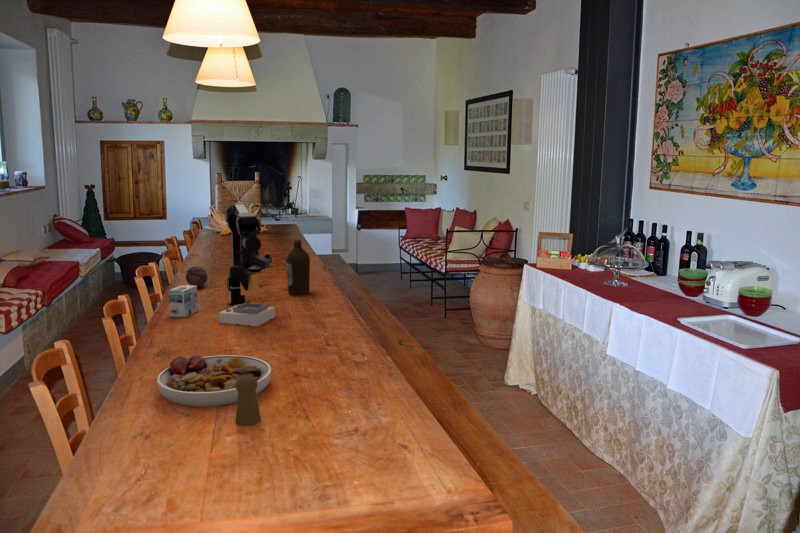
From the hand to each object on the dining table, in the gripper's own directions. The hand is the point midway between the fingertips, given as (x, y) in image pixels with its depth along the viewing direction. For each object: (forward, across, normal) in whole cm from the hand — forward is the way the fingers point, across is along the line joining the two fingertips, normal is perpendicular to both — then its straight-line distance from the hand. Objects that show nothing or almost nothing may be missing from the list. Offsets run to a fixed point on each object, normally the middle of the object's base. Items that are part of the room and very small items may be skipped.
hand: (249, 288), depth 244 cm
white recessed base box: (+12, 0, +1) cm, 12 cm away
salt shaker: (+12, -82, -46) cm, 95 cm away
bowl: (+13, -66, -26) cm, 72 cm away
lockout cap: (+2, 0, 0) cm, 2 cm away
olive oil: (+13, +47, +2) cm, 49 cm away
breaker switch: (+11, 0, 0) cm, 11 cm away
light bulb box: (+13, +1, +30) cm, 33 cm away
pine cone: (+13, +45, +54) cm, 72 cm away
